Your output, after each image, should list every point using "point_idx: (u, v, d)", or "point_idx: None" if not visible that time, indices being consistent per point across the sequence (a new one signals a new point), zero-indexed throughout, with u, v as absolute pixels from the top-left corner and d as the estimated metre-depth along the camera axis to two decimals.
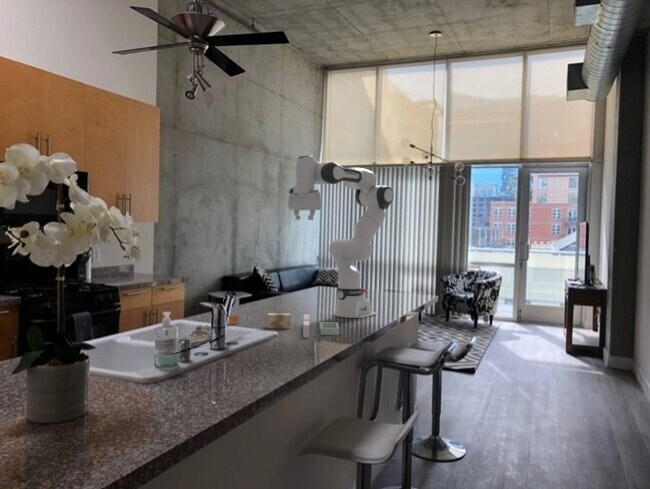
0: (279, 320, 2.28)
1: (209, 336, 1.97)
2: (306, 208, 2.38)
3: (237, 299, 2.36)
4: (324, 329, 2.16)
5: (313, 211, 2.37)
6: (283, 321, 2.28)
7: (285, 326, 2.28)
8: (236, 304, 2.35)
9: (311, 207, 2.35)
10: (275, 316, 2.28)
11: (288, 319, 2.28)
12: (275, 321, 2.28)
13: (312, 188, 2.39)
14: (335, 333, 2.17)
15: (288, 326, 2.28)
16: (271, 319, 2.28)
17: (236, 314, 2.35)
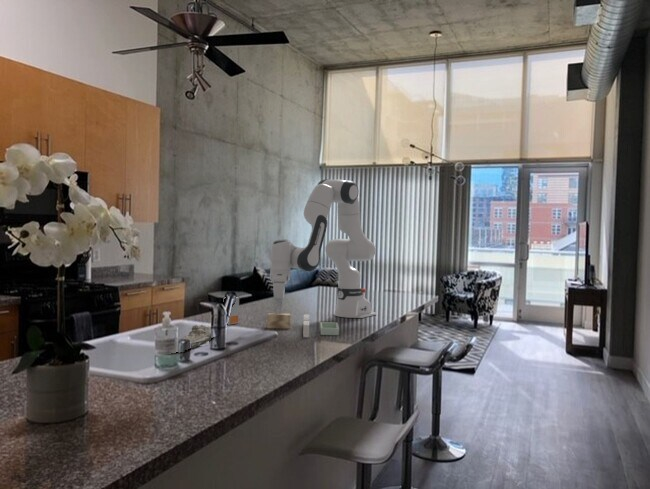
0: (279, 320, 2.28)
1: (208, 335, 1.98)
2: None
3: (237, 299, 2.36)
4: (324, 329, 2.16)
5: None
6: (283, 321, 2.28)
7: (285, 326, 2.28)
8: (236, 304, 2.35)
9: None
10: (275, 316, 2.28)
11: (288, 319, 2.28)
12: (275, 321, 2.28)
13: None
14: (335, 333, 2.17)
15: (288, 326, 2.28)
16: (271, 319, 2.28)
17: (236, 314, 2.35)
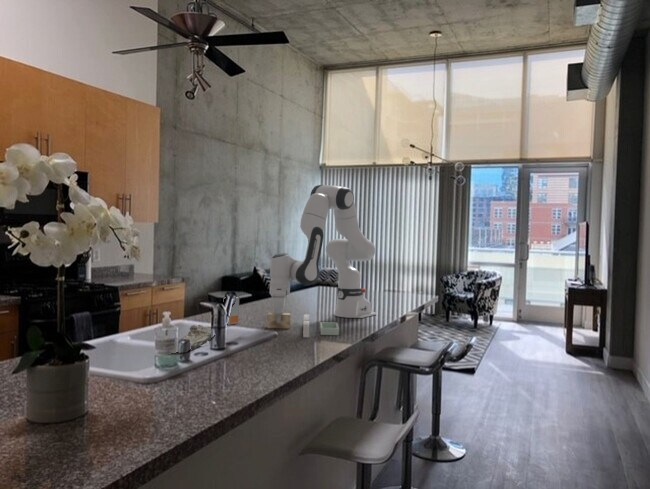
0: None
1: (208, 335, 1.99)
2: None
3: (237, 299, 2.36)
4: (324, 329, 2.16)
5: None
6: (283, 320, 2.28)
7: (285, 326, 2.28)
8: (236, 304, 2.35)
9: None
10: (275, 316, 2.28)
11: (288, 319, 2.28)
12: (275, 321, 2.28)
13: None
14: (335, 333, 2.17)
15: (288, 326, 2.28)
16: (271, 319, 2.28)
17: (236, 314, 2.35)
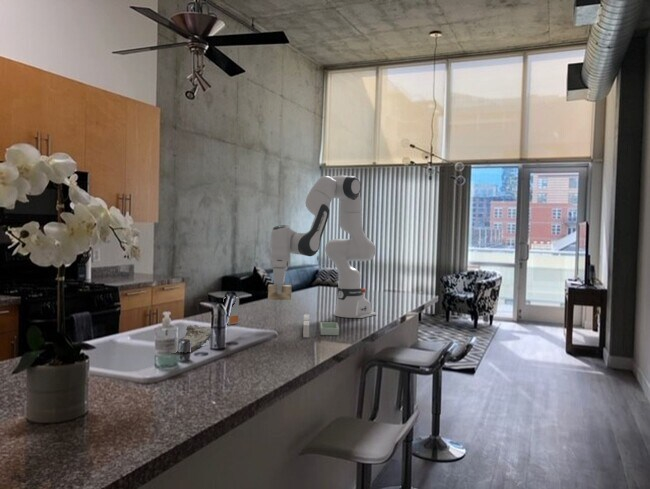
0: None
1: (207, 335, 1.99)
2: (284, 280, 2.33)
3: (237, 299, 2.36)
4: (324, 329, 2.16)
5: None
6: (284, 292, 2.28)
7: (286, 297, 2.28)
8: (236, 304, 2.35)
9: None
10: (276, 287, 2.28)
11: (289, 290, 2.28)
12: (276, 292, 2.28)
13: None
14: (335, 333, 2.17)
15: (289, 297, 2.28)
16: (272, 290, 2.28)
17: (236, 314, 2.35)
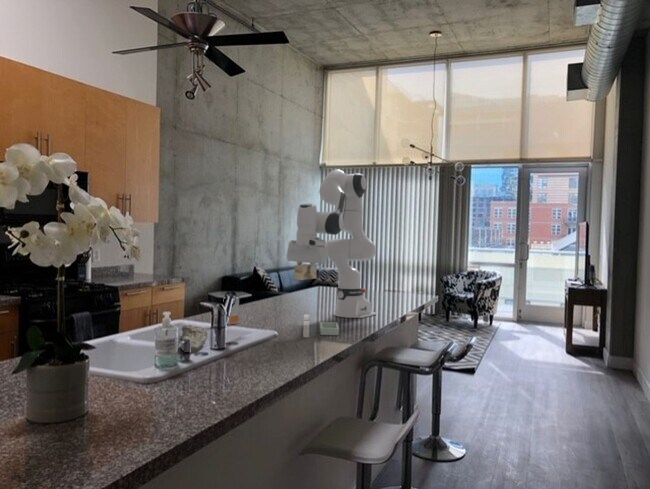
0: None
1: (205, 334, 2.00)
2: None
3: (237, 299, 2.36)
4: (324, 329, 2.16)
5: None
6: None
7: (313, 276, 2.27)
8: (236, 304, 2.35)
9: None
10: (307, 267, 2.23)
11: (315, 269, 2.28)
12: (307, 272, 2.24)
13: None
14: (335, 333, 2.17)
15: (315, 276, 2.28)
16: (304, 270, 2.22)
17: (236, 314, 2.35)
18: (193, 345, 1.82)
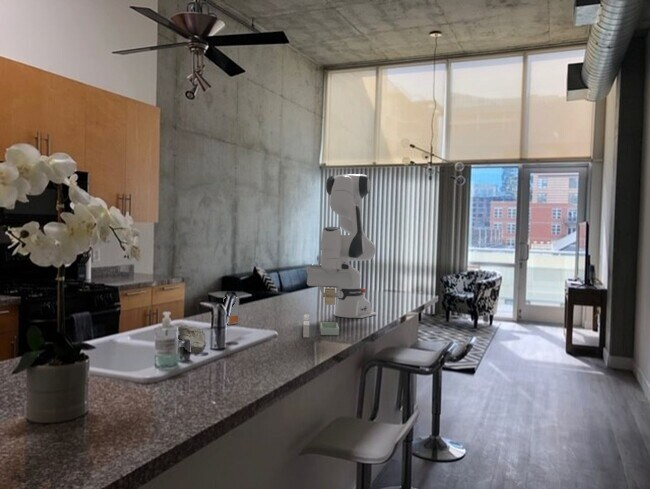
0: None
1: (203, 334, 2.00)
2: None
3: (237, 299, 2.36)
4: (324, 329, 2.16)
5: None
6: None
7: None
8: (236, 304, 2.35)
9: None
10: None
11: None
12: None
13: (321, 263, 2.21)
14: (335, 333, 2.17)
15: None
16: None
17: (236, 314, 2.35)
18: (198, 345, 1.83)
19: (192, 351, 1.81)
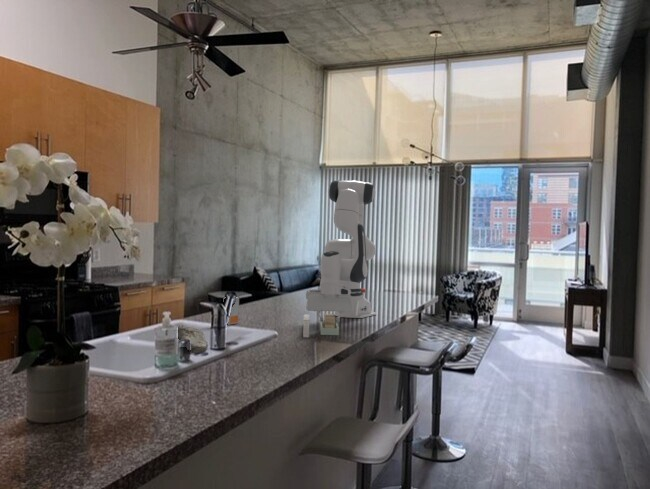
0: None
1: (202, 334, 2.01)
2: None
3: (237, 299, 2.36)
4: (324, 329, 2.16)
5: (317, 312, 2.23)
6: None
7: None
8: (236, 304, 2.35)
9: None
10: None
11: None
12: None
13: (320, 288, 2.21)
14: (335, 333, 2.17)
15: None
16: None
17: (236, 314, 2.35)
18: (201, 345, 1.83)
19: (196, 351, 1.81)
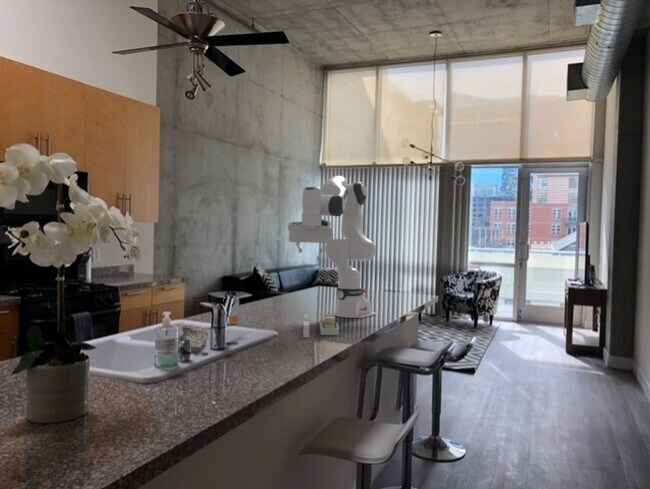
0: None
1: (205, 334, 2.00)
2: None
3: (237, 299, 2.36)
4: (324, 329, 2.16)
5: (296, 243, 2.35)
6: None
7: None
8: (236, 304, 2.35)
9: None
10: None
11: None
12: None
13: (302, 220, 2.34)
14: (335, 333, 2.17)
15: None
16: None
17: (236, 314, 2.35)
18: (196, 345, 1.83)
19: None
